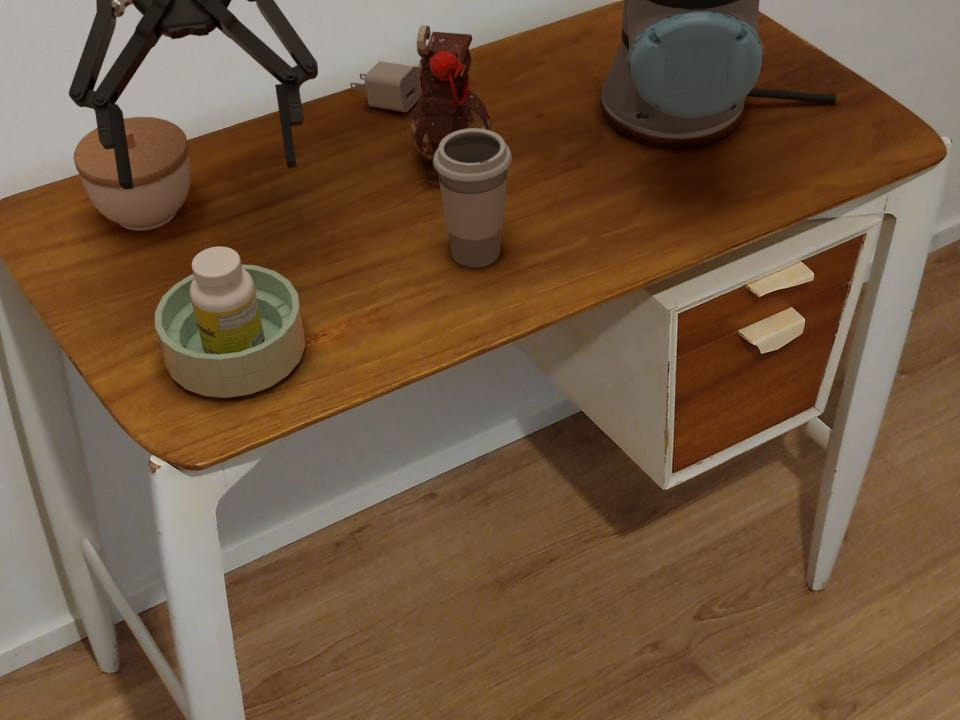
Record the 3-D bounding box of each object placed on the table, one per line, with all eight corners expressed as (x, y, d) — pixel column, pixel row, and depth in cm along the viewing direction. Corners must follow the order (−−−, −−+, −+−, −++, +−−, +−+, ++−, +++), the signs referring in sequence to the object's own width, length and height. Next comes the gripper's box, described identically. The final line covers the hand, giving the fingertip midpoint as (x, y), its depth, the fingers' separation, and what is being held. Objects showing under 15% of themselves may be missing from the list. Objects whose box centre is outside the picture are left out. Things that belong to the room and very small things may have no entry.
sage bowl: (300, 298, 119) (293, 256, 116) (311, 390, 110) (304, 347, 107) (165, 316, 118) (155, 273, 114) (165, 411, 109) (154, 367, 106)
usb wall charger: (416, 63, 140) (421, 96, 143) (361, 55, 143) (367, 88, 146) (398, 81, 138) (404, 114, 140) (343, 73, 141) (349, 105, 143)
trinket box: (177, 251, 125) (158, 170, 118) (73, 239, 127) (49, 158, 120) (216, 186, 132) (200, 106, 126) (117, 175, 134) (97, 97, 128)
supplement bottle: (196, 337, 115) (176, 250, 108) (255, 320, 116) (239, 233, 110) (212, 376, 111) (192, 288, 105) (273, 357, 113) (257, 270, 106)
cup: (454, 283, 120) (449, 176, 112) (427, 242, 125) (420, 136, 117) (524, 262, 122) (524, 155, 114) (495, 223, 127) (493, 118, 119)
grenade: (479, 194, 130) (475, 61, 120) (401, 185, 132) (390, 54, 121) (498, 141, 137) (496, 11, 127) (423, 134, 138) (415, 5, 128)
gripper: (322, -76, 113) (358, 164, 113) (30, -44, 111) (65, 202, 110) (321, -110, 106) (360, 147, 105) (7, -77, 103) (45, 187, 103)
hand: (209, 176), depth 108 cm, fingers open, 13 cm apart
